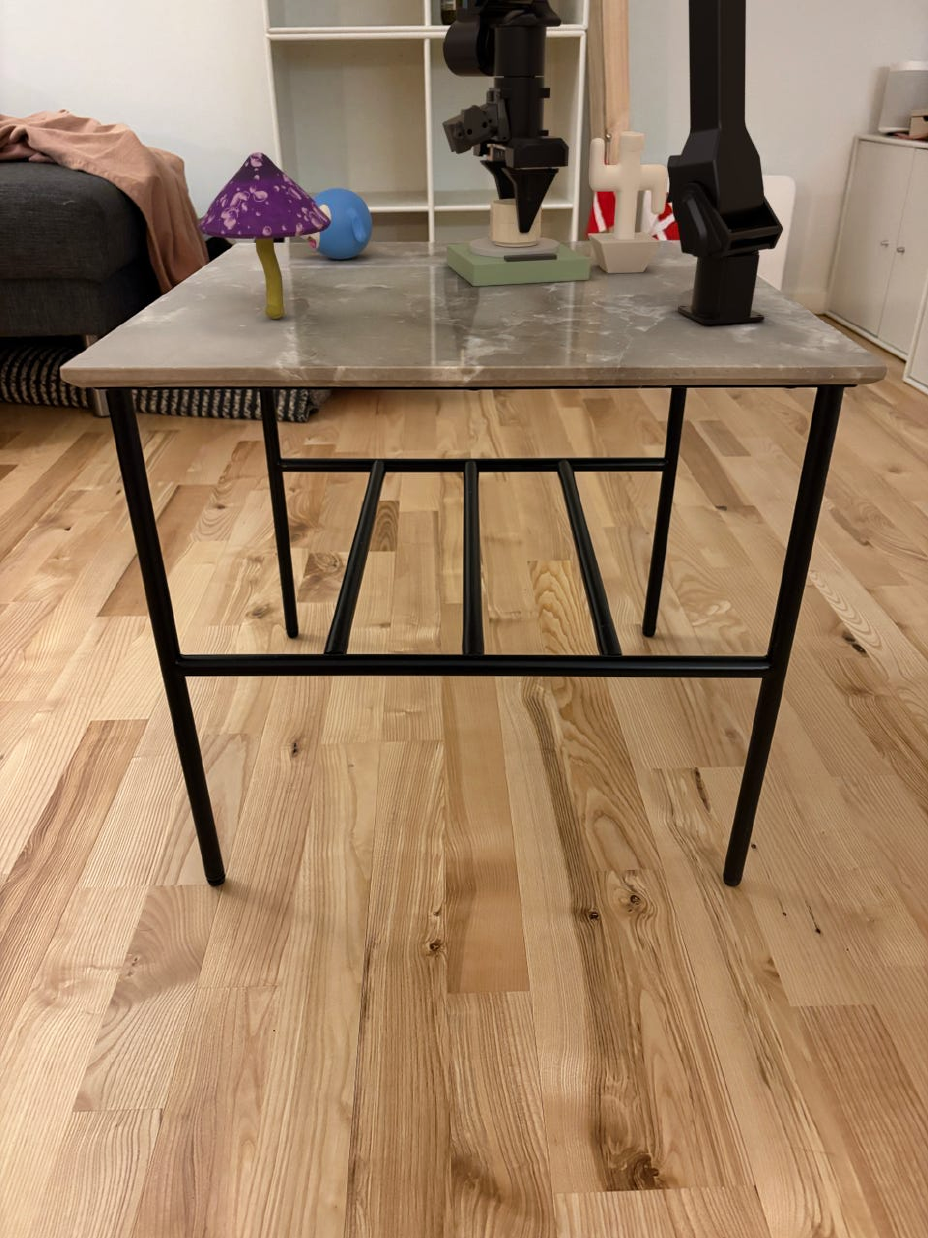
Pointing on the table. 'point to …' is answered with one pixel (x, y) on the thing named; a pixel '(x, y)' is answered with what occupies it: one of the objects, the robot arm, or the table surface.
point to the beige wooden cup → (511, 225)
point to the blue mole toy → (342, 224)
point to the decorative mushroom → (264, 217)
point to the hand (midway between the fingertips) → (516, 228)
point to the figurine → (626, 203)
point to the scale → (516, 263)
